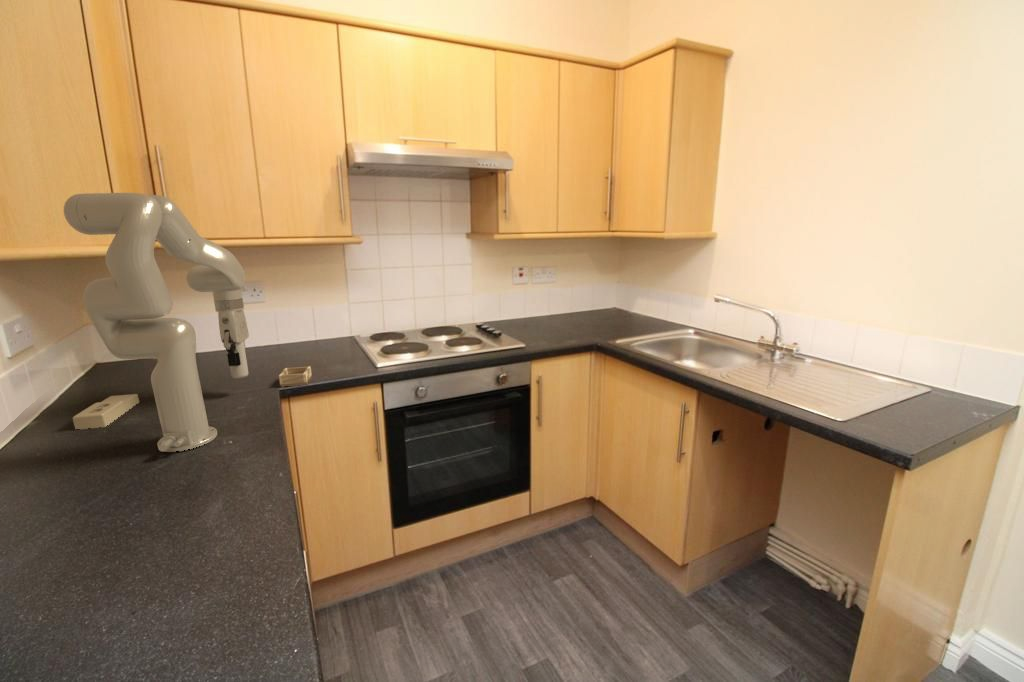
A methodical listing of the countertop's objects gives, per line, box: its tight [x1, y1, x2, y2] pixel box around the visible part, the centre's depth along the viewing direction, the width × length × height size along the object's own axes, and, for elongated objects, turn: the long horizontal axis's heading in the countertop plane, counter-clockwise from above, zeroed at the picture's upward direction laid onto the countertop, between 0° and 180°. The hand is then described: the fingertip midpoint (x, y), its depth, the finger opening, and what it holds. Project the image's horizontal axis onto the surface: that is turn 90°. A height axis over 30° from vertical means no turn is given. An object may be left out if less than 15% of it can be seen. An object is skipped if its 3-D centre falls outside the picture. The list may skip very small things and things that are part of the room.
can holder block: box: [278, 365, 313, 386], centre depth 162 cm, size 8×8×4 cm
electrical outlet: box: [72, 393, 140, 430], centre depth 138 cm, size 7×4×18 cm
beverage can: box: [229, 341, 249, 379], centre depth 149 cm, size 5×5×12 cm
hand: (238, 362), depth 150 cm, fingers closed on beverage can, 4 cm apart
